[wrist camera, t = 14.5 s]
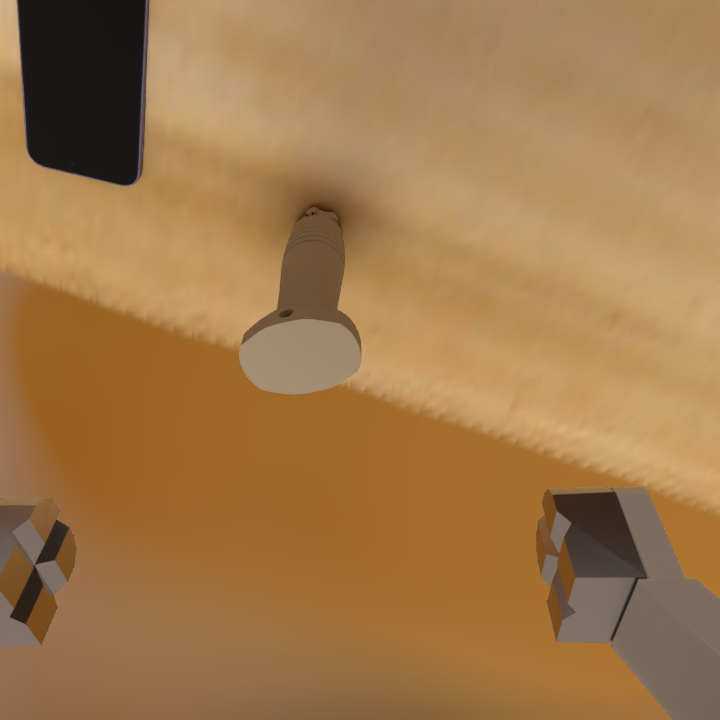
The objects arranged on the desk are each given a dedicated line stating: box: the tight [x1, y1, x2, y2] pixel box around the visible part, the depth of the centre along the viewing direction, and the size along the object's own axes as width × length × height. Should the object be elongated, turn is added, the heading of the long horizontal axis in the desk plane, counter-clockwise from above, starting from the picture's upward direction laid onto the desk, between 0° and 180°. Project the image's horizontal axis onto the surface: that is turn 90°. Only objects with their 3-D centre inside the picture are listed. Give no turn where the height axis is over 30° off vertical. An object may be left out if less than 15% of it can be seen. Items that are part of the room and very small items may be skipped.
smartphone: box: [17, 0, 149, 186], centre depth 38 cm, size 7×1×15 cm
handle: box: [239, 207, 361, 394], centre depth 39 cm, size 5×6×15 cm
